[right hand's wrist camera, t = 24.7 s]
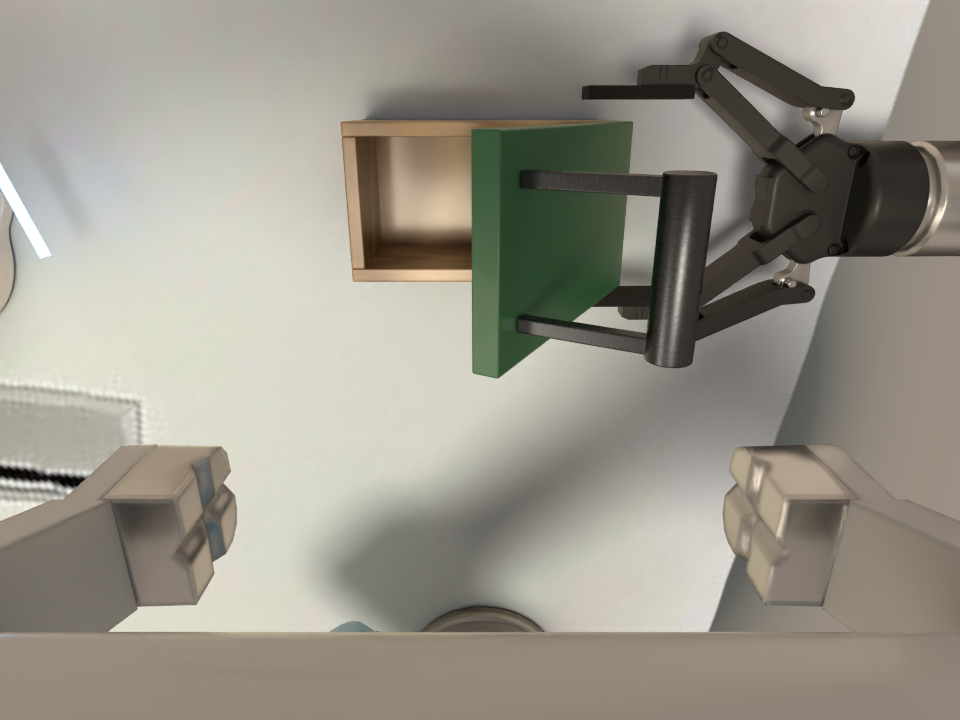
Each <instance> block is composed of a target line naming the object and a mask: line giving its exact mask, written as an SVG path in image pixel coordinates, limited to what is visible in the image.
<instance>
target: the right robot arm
mask: <svg viewBox="0 0 960 720" xmlns="http://www.w3.org/2000/svg"><path fill="white" fill-rule="evenodd" d="M13 211H14V212H15V214H16V216H17V218H18V219H19V221H20V223H21V225H22V226H23V228H24V230H25V232H26V234H27V235H28V237H29V239H30V241H31V242H32V244H33V246H34V248H35V249H36V251H37V253H38V255H39V257H40V258H44V257H47V256H50V255H51V254H50V252H49V250H48V248H47V247H46V245H45V243H44V241H43V239H42V238H41V236H40V234H39V232H38V230H37V229H36V227H35V225H34V223H33V221H32V220H31V218H30V216H29V214H28V213H27V211H26V209H25V207H24V205H23V204H22V202H21V200H20V198H19V196H18V195H17V193H16V191H15V189H14V187H13V186H12V184H11V182H10V180H9V178H8V177H7V175H6V173H5V171H4V169H3V168H2V166H1V164H0V311H1V310H2V309H3V307H4V306H5V304H6V302H7V300H8V298H9V296H10V293H11V290H12V285H13V279H14V261H13V254H12V249H11V244H10V239H9V226H10V222H11V218H12V214H13ZM230 472H231V470H230V465H229V460H228V455H227V452H226V451H225V450H224V449H223V448H222V447H221V446H172V445H160V446H158V445H128V446H121V447H120V448H119V449H118V450H117V451H116V452H115V453H113V454H112V455H111V456H110V457H109V458H108V459H107V460H106V461H105V462H104V463H103V464H102V465H100V466H99V467H98V468H97V469H96V470H95V471H94V472H93V473H92V474H91V475H90V476H89V477H87V478H86V479H85V480H84V481H83V482H82V483H81V484H80V485H79V486H78V487H77V488H75V489H74V490H73V491H72V492H71V493H70V494H69V495H68V496H67V497H66V498H65V499H64V500H51V501H49V502H46V503H44V504H41V505H39V506H37V507H34V508H32V509H29V510H27V511H24V512H22V513H19V514H17V515H14V516H12V517H10V518H7V519H5V520H2V521H0V720H960V521H958V520H955V519H953V518H950V517H948V516H945V515H943V514H941V513H938V512H936V511H933V510H931V509H928V508H926V507H923V506H921V505H919V504H916V503H914V502H911V501H909V500H897V499H895V498H894V497H893V496H892V495H891V494H890V493H889V492H888V491H887V490H886V489H885V488H884V487H882V486H881V485H880V484H879V483H878V482H877V481H876V480H875V479H874V478H873V477H872V476H871V475H869V474H868V473H867V472H866V471H865V470H864V469H863V468H862V467H861V466H860V465H859V464H857V463H856V462H855V461H854V460H853V459H852V458H851V457H850V456H849V455H848V454H847V453H846V452H845V451H843V450H842V449H841V448H840V447H838V446H834V445H831V444H830V445H807V446H805V445H793V446H751V447H739V448H736V449H735V451H734V454H733V456H732V459H731V464H730V470H729V472H730V473H731V475H732V476H733V478H734V479H735V481H736V483H737V484H736V485H735V486H734V487H733V488H732V489H731V490H730V491H729V492H728V493H727V494H726V495H725V500H724V508H723V522H724V531H725V534H726V537H727V541H728V543H729V545H730V547H731V549H732V551H733V552H734V554H735V555H737V556H739V557H740V558H742V559H744V560H745V561H747V562H748V563H747V568H746V575H747V577H748V579H749V580H750V582H751V584H752V585H753V587H754V589H755V591H756V592H757V594H758V596H759V597H760V599H761V601H762V602H763V604H764V605H785V606H822V607H823V608H822V609H823V610H824V611H826V612H827V613H828V614H830V615H831V616H832V617H834V618H835V619H836V620H838V621H839V622H840V623H842V624H843V625H844V626H846V627H847V628H848V629H850V630H851V631H852V632H108V631H109V630H111V629H112V628H113V627H115V626H116V625H117V624H119V623H120V622H121V621H123V620H124V619H125V618H127V617H128V616H129V615H131V614H132V613H133V612H135V611H136V610H137V606H173V605H196V604H197V603H198V601H199V599H200V598H201V596H202V594H203V592H204V591H205V589H206V587H207V585H208V584H209V582H210V580H211V579H212V577H213V575H214V568H213V563H212V562H213V561H215V560H217V559H218V558H220V557H221V556H223V555H225V554H226V552H227V551H228V549H229V547H230V545H231V543H232V541H233V537H234V533H235V529H236V525H237V506H236V499H235V495H234V494H233V493H232V492H231V491H230V490H229V489H228V488H227V487H226V486H225V485H224V484H223V483H224V481H225V479H226V478H227V476H228V475H229V473H230Z"/></svg>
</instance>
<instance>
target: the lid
mask: <svg viewBox="0 0 960 720" xmlns="http://www.w3.org/2000/svg"><path fill="white" fill-rule="evenodd" d="M632 130H633V122H594V123H575V124H555V125H535V126H515V127H495V128H475V129H472V130H471V191H472V367H473V373H474V374H478V375H483V376H488V377H493V378H499V377H501V376H502V375H503V374H505V373H506V372H507V371H509V370H510V369H511V368H512V367H514V366H515V365H516V364H518V363H519V362H520V361H522V360H523V359H524V358H525V357H527V356H528V355H529V354H531V353H532V352H533V351H535V350H536V349H537V348H538V347H540V346H541V345H542V344H544V343H545V342H546V341H548V340H549V339H550V338H552V339H558V340H563V341H569V342H575V343H581V344H587V345H592V346H598V347H604V348H610V349H616V350H621V351H627V352H633V353H639V354H644V358H645V360H646V361H647V362H649V363H651V364H653V365H656V366H660V367H666V368H682V367H687V366H689V365H691V364H692V362H693V355H694V347H695V340H696V332H697V325H698V317H699V310H700V302H701V295H702V287H703V280H704V272H705V265H706V257H707V250H708V242H709V235H710V227H711V220H712V212H713V205H714V197H715V190H716V182H717V174H716V173H713V172H706V171H666V172H664V173H663V175H647V174H629V166H630V154H631V142H632ZM627 195H639V196H656V197H660V207H659V217H658V226H657V236H656V246H655V256H654V266H653V275H652V285H651V295H650V305H649V314H648V324H647V333H640V332H634V331H628V330H621V329H615V328H609V327H602V326H596V325H590V324H583V323H577V322H572V321H574V320H575V319H576V318H577V317H579V316H580V315H581V314H583V313H584V312H585V311H587V310H588V309H589V308H591V307H592V306H593V305H594V304H596V303H597V302H598V301H600V300H601V299H602V298H604V297H605V296H606V295H607V294H609V293H610V292H611V291H613V290H614V289H615V288H617V287H618V286H619V285H620V274H621V262H622V250H623V238H624V226H625V214H626V202H627Z"/></svg>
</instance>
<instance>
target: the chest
mask: <svg viewBox="0 0 960 720" xmlns="http://www.w3.org/2000/svg"><path fill="white" fill-rule="evenodd" d="M594 122H619V121H608V120H598V119H365V120H356V121H344V122H341V132H342V136H343V137H342V146H343V159H344V172H345V185H346V198H347V211H348V224H349V236H350V249H351V262H352V268H353V269H352V275H353V281H354V282H451V281H472V191H471V130H472V129H475V128H495V127H515V126H535V125H555V124H575V123H594Z"/></svg>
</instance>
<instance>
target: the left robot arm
mask: <svg viewBox="0 0 960 720" xmlns="http://www.w3.org/2000/svg"><path fill="white" fill-rule="evenodd" d="M719 66H722V67H724V68H726V69H727V70H729V71H731V72H733V73H734V74H736V75H738V76H740V77H742V78H743V79H745V80H747V81H749V82H750V83H752V84H754V85H756V86H758V87H759V88H761V89H763V90H765V91H767V92H768V93H770V94H772V95H774V96H775V97H777V98H779V99H781V100H783V101H784V102H786V103H788V104H790V105H793V106H796V107H800V108H804V110H803V117H804V119H805V120H806V121H808V122H811V123H812V124H813V126H814V134H811V135H809V136H808V137H806V138H805V139H803V140H802V141H800V142H799V143H797V144H796V145H794V144H793V143H792V142H791V141H790V140H789V139H788V138H786V137H784V136H783V135H781V134H780V133H779V132H778V131H777V130H776V129H775V128H774V127H773V126H772V125H771V124H770V123H769V122H768V121H767V120H766V119H765V118H764V117H763V116H762V115H761V114H760V113H759V112H758V111H757V110H756V109H755V108H754V107H753V106H752V105H751V104H750V103H749V102H748V101H747V100H746V99H745V98H744V97H743V96H742V95H741V94H740V93H739V92H738V91H737V90H736V89H735V88H734V87H733V85H732V84H731V83H730V82H729V81H728V80H727V79H726V78H725V77H724V76H723V75H722V74H721V73H720V72H719V71H718V68H719ZM695 93H696V94H697V95H698V96H699V97H700V98H701V99H702V100H703V101H704V102H705V103H706V104H707V105H708V106H709V107H710V108H711V109H712V110H713V111H714V112H715V113H716V114H717V115H718V116H719V117H720V118H721V119H722V120H723V121H725V122H726V123H727V124H728V125H729V126H730V127H731V128H732V129H733V130H734V131H735V132H736V133H737V134H738V135H739V136H740V137H741V138H742V139H743V140H744V141H745V142H746V143H747V144H748V145H749V146H750V147H751V148H752V151H753V152H754V154H755V155H756V156H757V157H758V158H759V159H761V160H762V161H763V162H764V163H765V164H766V166H765V167H764V168H763V169H762V171H761V173H760V175H756V181H755V195H756V199H755V202H754V204H753V206H752V209H751V213H750V219H749V221H751V222H752V224H753V228H754V229H753V230H752V231H751V232H749V233H748V234H747V235H745V236H744V237H742V238H741V239H740V240H739V241H738V244H737V245H736V246H735V247H733V248H732V249H731V250H729V251H728V252H726V253H725V254H724V255H722V256H721V257H720V258H718V259H717V260H715V261H714V262H713V263H711V264H710V265H709V266H707V267H706V268H705V272H704V280H703V287H702V295H701V302H700V307H701V308H700V310H699V317H698V325H697V332H696V340H695V341H697V340H700V339H702V338H704V337H707V336H709V335H712V334H714V333H716V332H719V331H721V330H723V329H726V328H728V327H730V326H733V325H735V324H737V323H740V322H742V321H745V320H747V319H749V318H752V317H754V316H756V315H759V314H761V313H763V312H766V311H768V310H771V309H773V308H775V307H778V306H780V305H786V304H797V303H806V302H809V301H811V300H812V299H813V298H814V296H815V290H814V288H812V287H811V286H809V285H808V283H809V272H810V263H811V262H813V261H815V260H817V259H820V258H823V257H869V256H870V257H872V256H874V257H876V256H877V257H878V256H879V257H882V256H889V255H894V256H960V141H916V142H911V143H908V142H904V141H844V140H842V139H840V138H839V137H837V136H836V132H837V129H838V125H839V122H840V118H841V115H842V111H843V110H846V109H848V108H850V107H851V106H852V105H853V103H854V101H855V95H854V93H853V92H852V90H849V89H842V88H832V87H823V86H820V85H818V84H816V83H815V82H813V81H811V80H809V79H808V78H806V77H804V76H803V75H801V74H799V73H797V72H796V71H794V70H792V69H790V68H789V67H787V66H785V65H783V64H782V63H780V62H778V61H776V60H775V59H773V58H771V57H769V56H768V55H766V54H764V53H762V52H761V51H759V50H757V49H755V48H754V47H752V46H750V45H748V44H747V43H745V42H743V41H741V40H740V39H738V38H736V37H734V36H733V35H731V34H729V33H727V32H719V33H716V34H713V35H710V36H707V37H705V38H703V39H702V41H701V42H700V45H699V51H698V54H697V56H696V58H695V60H694V61H693V62H692V63H691V64H690V65H651V66H647V67H644V68H642V69H640V70H638V77H637V85H605V86H585V87H582V99H694V95H695ZM781 254H782V255H784V256H785V257H786V258H787V259H789V260H790V264H789V266H788V267H787V268H786V269H784V270H782V271H779V272H777V273H775V274H774V276H773V277H774V279H771V280H766V281H762V282H759V283H757V284H754V285H752V286H749V287H747V288H745V289H742V290H740V291H738V292H736V293H733V294H731V295H729V296H726V297H724V298H722V299H719V300H717V301H715V302H712V303H710V304H708V305H705V304H706V303H707V302H709V301H710V300H712V299H713V298H715V297H716V296H717V295H719V294H720V293H722V292H723V291H724V290H726V289H727V288H729V287H730V286H731V285H733V284H734V283H736V282H737V281H738V280H740V279H741V278H743V277H744V276H745V275H747V274H748V273H750V272H751V271H753V270H754V269H755V268H757V267H758V266H760V265H764V264H767V263H769V262H771V261H772V260H774V259H775V258H776V257H778V256H779V255H781ZM650 295H651V286H618V287H617V288H615V289H614V290H613V291H611V292H610V293H609V294H607V295H606V296H605V297H604V298H602V299H601V300H600V301H598V302H597V303H596V304H594V305H593V306H592V307H618V312H619V313H620V315H621V316H622V317H623V318H626V319H629V320H636V319H638V320H642V319H643V320H648V314H649V305H650ZM703 305H705V306H703ZM702 306H703V307H702ZM330 632H375V631H373V630H372V629H370V628H369V627H368V626H366V625H365V624H363V623H361V622H357V621H352V622H347V623H344V624H342V625H340V626H338V627H336V628H335V629H333V630H332V631H330ZM377 632H378V631H377ZM421 632H543V631H542V630H541V629H540V628H539V627H537V626H536V625H535V624H534V623H532V622H531V621H529V620H528V619H526V618H524V617H522V616H520V615H518V614H515V613H513V612H510V611H506V610H502V609H497V608H486V607H478V608H467V609H462V610H458V611H454V612H451V613H449V614H446V615H444V616H442V617H440V618H438V619H436V620H435V621H433V622H432V623H430V624H429V625H428V626H427V627H425V628H424V629H423V630H422V631H421Z"/></svg>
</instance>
